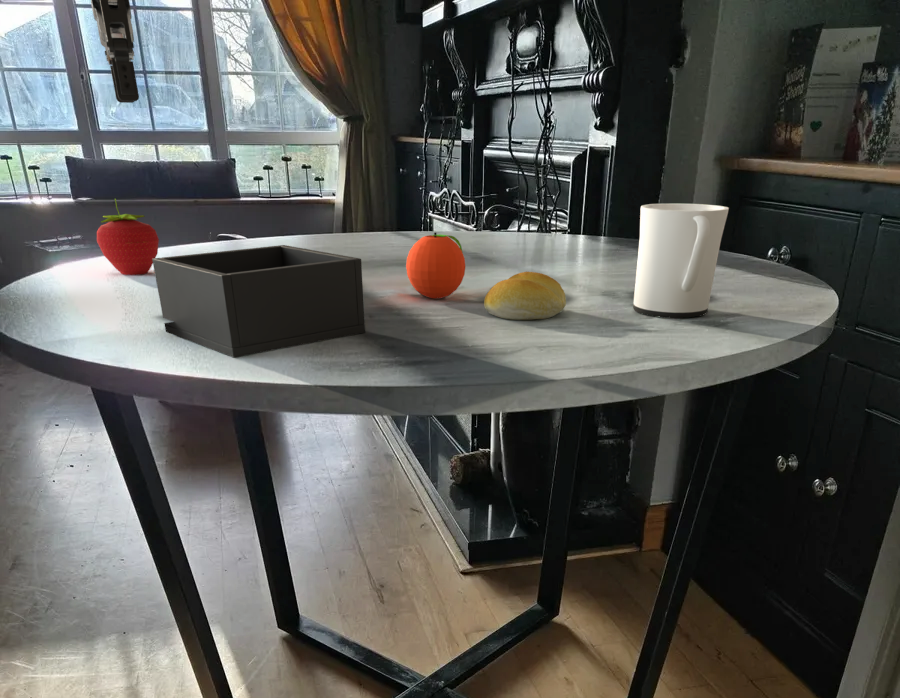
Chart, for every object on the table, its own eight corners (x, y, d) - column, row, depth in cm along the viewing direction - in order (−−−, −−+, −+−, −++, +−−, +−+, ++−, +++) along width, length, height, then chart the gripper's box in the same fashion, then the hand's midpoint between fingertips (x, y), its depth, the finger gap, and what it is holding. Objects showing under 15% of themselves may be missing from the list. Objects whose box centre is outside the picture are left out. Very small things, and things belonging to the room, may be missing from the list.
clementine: (442, 289, 97) (441, 227, 94) (483, 296, 93) (484, 231, 90) (394, 298, 93) (392, 232, 89) (436, 306, 88) (435, 237, 85)
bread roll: (473, 317, 83) (473, 277, 81) (508, 302, 90) (510, 265, 88) (544, 325, 80) (547, 283, 78) (575, 309, 87) (578, 271, 85)
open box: (233, 357, 69) (221, 275, 65) (165, 332, 77) (151, 258, 74) (365, 332, 77) (361, 258, 74) (290, 312, 86) (283, 244, 82)
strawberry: (158, 289, 98) (142, 200, 93) (98, 289, 98) (79, 200, 93) (173, 281, 103) (158, 196, 98) (116, 281, 103) (98, 196, 98)
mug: (619, 303, 90) (630, 203, 84) (693, 302, 90) (709, 203, 85) (649, 324, 80) (663, 213, 75) (732, 322, 81) (752, 212, 76)
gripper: (59, -68, 87) (93, 103, 96) (54, -97, 76) (93, 99, 84) (130, -63, 90) (157, 103, 98) (135, -90, 78) (165, 100, 87)
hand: (127, 101), depth 91 cm, fingers open, 8 cm apart
